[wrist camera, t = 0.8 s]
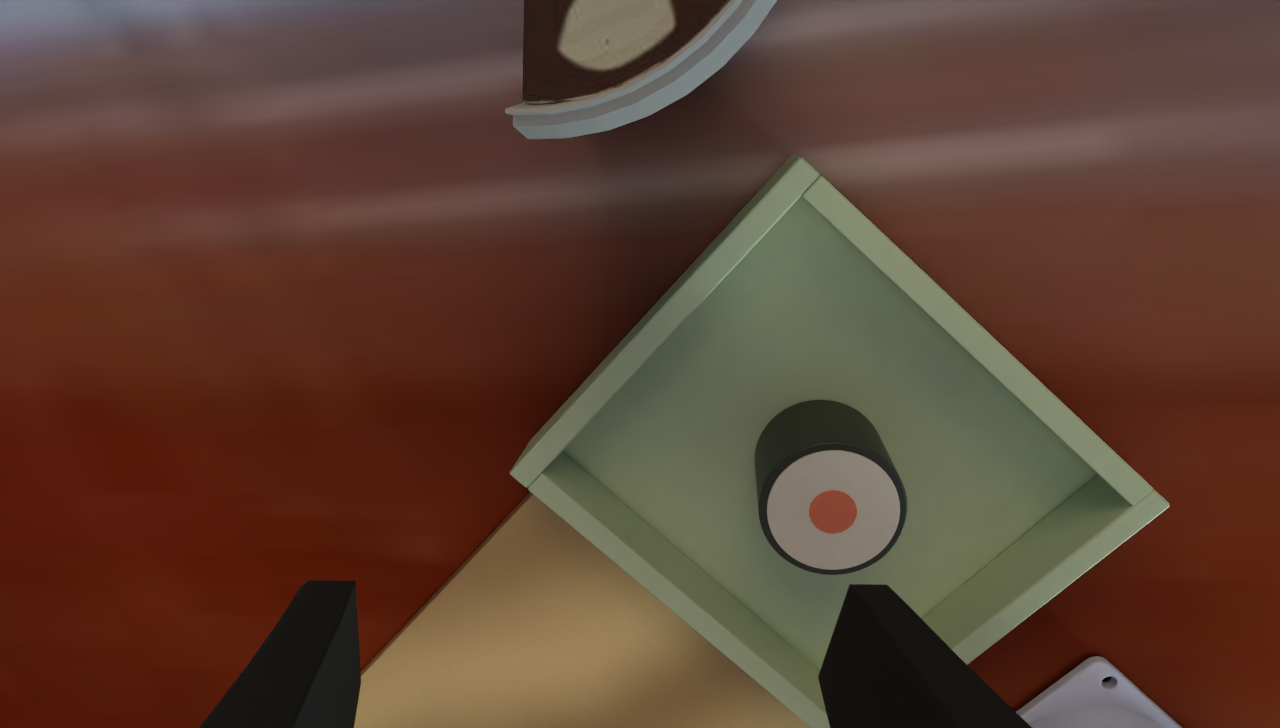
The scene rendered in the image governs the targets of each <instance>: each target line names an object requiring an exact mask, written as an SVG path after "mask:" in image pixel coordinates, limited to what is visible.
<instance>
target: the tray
mask: <svg viewBox="0 0 1280 728" xmlns="http://www.w3.org/2000/svg"><path fill="white" fill-rule="evenodd" d="M809 400H831V401H836V402H840V403H843V404H846V405H848V406H850V407H852V408H854V409H856V410H857V411H859V412H860V413H862V414H863V415H864V416H865V417H866V418H867V419H868V420H869V421H870V422H871V423H872V424H873V426H874V427H875V429H876V430H877V432H878V434H879V436H880V438H881V440H882V442H883V444H884V446H885V448H886V450H887V452H888V454H889V456H890V458H891V460H892V462H893V464H894V466H895V468H896V470H897V472H898V474H899V476H900V478H901V480H902V482H903V485H904V488H905V491H906V495H907V502H908V512H907V519H906V523H905V527H904V529H903V532H902V534H901V536H900V537H899V539H898V541H897V543H896V544H895V545H894V546H893V548H892V549H891V550H890V551H889V552H888V553H887V554H886V555H885V556H884V557H883V558H881V559H880V560H879V561H877V562H876V563H874V564H872V565H870V566H869V567H866V568H864V569H862V570H859V571H856V572H852V573H847V574H840V575H824V574H818V573H813V572H809V571H806V570H803V569H801V568H799V567H796V566H795V565H793V564H791V563H789V562H788V561H787V560H785V559H784V558H783V557H781V556H780V555H779V554H778V553H777V552H776V551H775V550H774V549H773V547H772V546H771V545H770V544H769V542H768V540H767V539H766V537H765V535H764V532H763V530H762V528H761V524H760V520H759V511H758V498H757V486H756V473H755V450H756V445H757V442H758V439H759V437H760V435H761V433H762V431H763V430H764V428H765V427H766V425H767V424H768V423H769V422H770V421H771V420H772V419H773V418H774V417H775V416H776V415H777V414H778V413H780V412H781V411H783V410H784V409H786V408H788V407H790V406H792V405H795V404H798V403H800V402H805V401H809ZM510 475H511V476H512V477H514V478H515V479H516V480H517V481H518V482H520V483H521V484H522V485H523V486H524V487H526V488H527V487H528V490H529V491H530V492H531V493H532V494H534V495H535V496H536V497H537V498H538V499H540V500H541V501H542V502H543V503H544V504H545V505H547V506H548V507H549V508H550V509H551V510H553V511H554V512H555V513H556V514H557V515H559V516H560V517H561V518H562V519H563V520H565V521H566V522H567V523H568V524H569V525H570V526H572V527H573V528H574V529H575V530H576V531H578V532H579V533H580V534H581V535H582V536H584V537H585V538H586V539H587V540H588V541H589V542H591V543H592V544H593V545H594V546H595V547H597V548H598V549H599V550H600V551H601V552H603V553H604V554H605V555H606V556H607V557H609V558H610V559H611V560H612V561H613V562H614V563H616V564H617V565H618V566H619V567H620V568H622V569H623V570H624V571H625V572H626V573H628V574H629V575H630V576H631V577H632V578H634V579H635V580H636V581H637V582H638V583H639V584H641V585H642V586H643V587H644V588H645V589H647V590H648V591H649V592H650V593H651V594H653V595H654V596H655V597H656V598H657V599H658V600H660V601H661V602H662V603H663V604H664V605H666V606H667V607H668V608H669V609H670V610H672V611H673V612H674V613H675V614H676V615H678V616H679V617H680V618H681V619H682V620H683V621H685V622H686V623H687V624H688V625H689V626H691V627H692V628H693V629H694V630H695V631H697V632H698V633H699V634H700V635H701V636H702V637H704V638H705V639H706V640H707V641H708V642H710V643H711V644H712V645H713V646H714V647H716V648H717V649H718V650H719V651H720V652H722V653H723V654H724V655H725V656H726V657H727V658H729V659H730V660H731V661H732V662H733V663H735V664H736V665H737V666H738V667H739V668H741V669H742V670H743V671H744V672H745V673H746V674H748V675H749V676H750V677H751V678H752V679H754V680H755V681H756V682H757V683H758V684H760V685H761V686H762V687H763V688H764V689H766V690H767V691H768V692H769V693H770V694H771V695H773V696H774V697H775V698H776V699H777V700H779V701H780V702H781V703H782V704H783V705H785V706H786V707H787V708H788V709H789V710H790V711H792V712H793V713H794V714H795V715H796V716H798V717H799V718H800V719H801V720H802V721H804V722H805V723H806V724H807V725H808V726H810V727H811V728H830V725H829V721H828V717H827V714H826V709H825V705H824V701H823V696H822V692H821V688H820V683H819V679H818V675H819V672H820V669H821V667H822V664H823V661H824V658H825V655H826V652H827V649H828V646H829V643H830V640H831V637H832V634H833V631H834V628H835V626H836V623H837V620H838V617H839V614H840V611H841V608H842V605H843V602H844V599H845V596H846V593H847V590H848V587H849V585H850V584H875V585H888V586H889V587H890V588H891V589H892V590H893V591H894V592H895V593H896V594H897V595H898V596H899V597H900V598H901V599H902V600H903V601H904V602H905V603H906V604H907V605H908V606H909V607H910V608H911V609H912V610H913V611H914V612H915V613H916V614H917V615H918V616H919V617H920V618H921V619H922V620H923V621H924V622H925V623H926V624H927V625H928V626H929V627H930V628H931V629H932V630H933V631H934V632H935V633H936V634H937V635H938V636H939V637H940V638H941V639H942V640H943V641H944V642H945V643H946V644H947V645H948V646H949V647H950V648H951V649H952V650H953V651H954V652H955V653H956V654H957V655H958V656H959V657H960V658H961V659H962V660H963V661H964V662H965V663H966V664H967V665H968V664H969V663H970V662H971V661H973V660H974V659H975V658H976V657H978V656H979V655H980V654H982V653H983V652H984V651H985V650H987V649H988V648H989V647H991V646H992V645H993V644H994V643H996V642H997V641H998V640H1000V639H1001V638H1002V637H1003V636H1005V635H1006V634H1007V633H1008V632H1010V631H1011V630H1012V629H1014V628H1015V627H1016V626H1017V625H1019V624H1020V623H1021V622H1023V621H1024V620H1025V619H1026V618H1028V617H1029V616H1030V615H1032V614H1033V613H1034V612H1035V611H1037V610H1038V609H1039V608H1040V607H1042V606H1043V605H1044V604H1046V603H1047V602H1048V601H1049V600H1051V599H1052V598H1053V597H1055V596H1056V595H1057V594H1058V593H1060V592H1061V591H1062V590H1063V589H1065V588H1066V587H1067V586H1069V585H1070V584H1071V583H1072V582H1074V581H1075V580H1076V579H1078V578H1079V577H1080V576H1081V575H1083V574H1084V573H1085V572H1087V571H1088V570H1089V569H1090V568H1092V567H1093V566H1094V565H1095V564H1097V563H1098V562H1099V561H1101V560H1102V559H1103V558H1104V557H1106V556H1107V555H1108V554H1110V553H1111V552H1112V551H1113V550H1115V549H1116V548H1117V547H1119V546H1120V545H1121V544H1122V543H1124V542H1125V541H1126V540H1127V539H1129V538H1130V537H1131V536H1133V535H1134V534H1135V533H1136V532H1138V531H1139V530H1140V529H1142V528H1143V527H1144V526H1145V525H1147V524H1148V523H1149V522H1150V521H1152V520H1153V519H1154V518H1156V517H1157V516H1158V515H1159V514H1161V513H1162V512H1163V511H1165V510H1166V509H1167V508H1168V507H1169V506H1170V505H1169V503H1168V502H1167V501H1166V500H1165V499H1164V498H1163V497H1162V496H1161V495H1160V494H1159V493H1158V492H1157V491H1156V490H1154V489H1153V488H1152V487H1151V486H1150V485H1149V484H1148V483H1147V482H1146V481H1145V480H1144V479H1143V478H1142V477H1141V476H1140V475H1139V474H1138V473H1137V472H1135V471H1134V470H1133V469H1132V468H1131V467H1130V466H1129V465H1128V464H1127V463H1126V462H1125V461H1124V460H1123V459H1122V458H1121V457H1120V456H1118V455H1117V454H1116V453H1115V452H1114V451H1113V450H1112V449H1111V448H1110V447H1109V446H1108V445H1107V444H1106V443H1105V442H1104V441H1103V440H1102V439H1100V438H1099V437H1098V436H1097V435H1096V434H1095V433H1094V432H1093V431H1092V430H1091V429H1090V428H1089V427H1088V426H1087V425H1086V424H1085V423H1084V422H1082V421H1081V420H1080V419H1079V418H1078V417H1077V416H1076V415H1075V414H1074V413H1073V412H1072V411H1071V410H1070V409H1069V408H1068V407H1067V406H1066V405H1064V404H1063V403H1062V402H1061V401H1060V400H1059V399H1058V398H1057V397H1056V396H1055V395H1054V394H1053V393H1052V392H1051V391H1050V390H1049V389H1047V388H1046V387H1045V386H1044V385H1043V384H1042V383H1041V382H1040V381H1039V380H1038V379H1037V378H1036V377H1035V376H1034V375H1033V374H1032V373H1031V372H1029V371H1028V370H1027V369H1026V368H1025V367H1024V366H1023V365H1022V364H1021V363H1020V362H1019V361H1018V360H1017V359H1016V358H1015V357H1014V356H1013V355H1011V354H1010V353H1009V352H1008V351H1007V350H1006V349H1005V348H1004V347H1003V346H1002V345H1001V344H1000V343H999V342H998V341H997V340H996V339H995V338H993V337H992V336H991V335H990V334H989V333H988V332H987V331H986V330H985V329H984V328H983V327H982V326H981V325H980V324H979V323H978V322H976V321H975V320H974V319H973V318H972V317H971V316H970V315H969V314H968V313H967V312H966V311H965V310H964V309H963V308H962V307H961V306H960V305H958V304H957V303H956V302H955V301H954V300H953V299H952V298H951V297H950V296H949V295H948V294H947V293H946V292H945V291H944V290H943V289H942V288H940V287H939V286H938V285H937V284H936V283H935V282H934V281H933V280H932V279H931V278H930V277H929V276H928V275H927V274H926V273H925V272H924V271H922V270H921V269H920V268H919V267H918V266H917V265H916V264H915V263H914V262H913V261H912V260H911V259H910V258H909V257H908V256H907V255H905V254H904V253H903V252H902V251H901V250H900V249H899V248H898V247H897V246H896V245H895V244H894V243H893V242H892V241H891V240H890V239H889V238H887V237H886V236H885V235H884V234H883V233H882V232H881V231H880V230H879V229H878V228H877V227H876V226H875V225H874V224H873V223H872V222H871V221H869V220H868V219H867V218H866V217H865V216H864V215H863V214H862V213H861V212H860V211H859V210H858V209H857V208H856V207H855V206H854V205H853V204H851V203H850V202H849V201H848V200H847V199H846V198H845V197H844V196H843V195H842V194H841V193H840V192H839V191H838V190H837V189H836V188H834V187H833V186H832V185H831V184H830V183H829V182H828V181H827V180H826V179H825V178H824V177H823V176H821V175H820V174H819V172H817V171H816V170H815V169H814V168H813V167H812V166H811V165H810V164H809V163H808V162H807V161H806V160H805V159H804V158H802V157H799V156H796V155H794V154H793V155H791V156H790V157H789V158H788V160H787V161H786V162H785V163H784V164H783V165H782V166H781V167H780V168H779V169H778V170H777V172H776V173H775V174H774V175H773V176H772V177H771V178H770V179H769V180H768V181H767V182H766V184H765V185H764V186H763V187H762V188H761V189H760V190H759V191H758V192H757V193H756V194H755V196H754V197H753V198H752V199H751V200H750V201H749V202H748V203H747V204H746V205H745V206H744V208H743V209H742V210H741V211H740V212H739V213H738V214H737V215H736V216H735V217H734V218H733V220H732V221H731V222H730V223H729V224H728V225H727V226H726V227H725V228H724V229H723V230H722V232H721V233H720V234H719V235H718V236H717V237H716V238H715V239H714V240H713V241H712V243H711V244H710V245H709V246H708V247H707V248H706V249H705V250H704V251H703V252H702V253H701V255H700V256H699V257H698V258H697V259H696V260H695V261H694V262H693V263H692V264H691V265H690V267H689V268H688V269H687V270H686V271H685V272H684V273H683V274H682V275H681V276H680V277H679V279H678V280H677V281H676V282H675V283H674V284H673V285H672V286H671V287H670V288H669V289H668V291H667V292H666V293H665V294H664V295H663V296H662V297H661V298H660V299H659V300H658V301H657V303H656V304H655V305H654V306H653V307H652V308H651V309H650V310H649V311H648V312H647V313H646V315H645V316H644V317H643V318H642V319H641V320H640V321H639V322H638V323H637V324H636V325H635V327H634V328H633V329H632V330H631V331H630V332H629V333H628V334H627V335H626V336H625V337H624V339H623V340H622V341H621V342H620V343H619V344H618V345H617V346H616V347H615V348H614V349H613V351H612V352H611V353H610V354H609V355H608V356H607V357H606V358H605V359H604V360H603V361H602V363H601V364H600V365H599V366H598V367H597V368H596V369H595V370H594V371H593V372H592V373H591V375H590V376H589V377H588V378H587V379H586V380H585V381H584V382H583V383H582V384H581V385H580V387H579V388H578V389H577V390H576V391H575V392H574V393H573V394H572V395H571V396H570V397H569V399H568V400H567V401H566V402H565V403H564V404H563V405H562V406H561V407H560V408H559V409H558V411H557V412H556V413H555V414H554V415H553V416H552V417H551V418H550V419H549V420H548V421H547V423H546V424H545V425H544V426H543V427H542V428H541V429H540V430H539V431H538V432H537V433H536V435H535V436H534V437H533V438H532V439H531V440H530V441H529V443H528V445H527V446H526V448H525V449H524V451H523V453H522V454H521V456H520V457H519V459H518V460H517V462H516V463H515V465H514V467H513V468H512V470H511V471H510Z"/></svg>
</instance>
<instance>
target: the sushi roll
mask: <svg viewBox="0 0 1280 728" xmlns="http://www.w3.org/2000/svg"><path fill="white" fill-rule="evenodd" d="M755 473H756V486H757V498H758V511H759V520H760V524H761V528H762V530H763V532H764V535H765V537H766V539H767V540H768V542H769V544H770V545H771V546H772V547H773V549H774V550H775V551H776V552H777V553H778V554H779V555H780V556H781V557H783V558H784V559H785V560H787V561H788V562H789V563H791V564H793V565H795V566H796V567H799V568H801V569H803V570H806V571H809V572H813V573H818V574H824V575H840V574H847V573H852V572H856V571H859V570H862V569H864V568H866V567H869V566H870V565H872V564H874V563H876V562H877V561H879V560H880V559H881V558H883V557H884V556H885V555H886V554H887V553H888V552H889V551H890V550H891V549H892V548H893V546H894V545H895V544H896V543H897V541H898V539H899V537H900V536H901V534H902V532H903V529H904V527H905V523H906V519H907V512H908V502H907V495H906V491H905V488H904V485H903V482H902V480H901V478H900V476H899V474H898V472H897V470H896V468H895V466H894V464H893V462H892V460H891V458H890V456H889V454H888V452H887V450H886V448H885V446H884V444H883V442H882V440H881V438H880V436H879V434H878V432H877V430H876V429H875V427H874V426H873V424H872V423H871V422H870V421H869V420H868V419H867V418H866V417H865V416H864V415H863V414H862V413H860V412H859V411H857V410H856V409H854V408H852V407H850V406H848V405H846V404H843V403H840V402H836V401H831V400H809V401H805V402H800V403H798V404H795V405H792V406H790V407H788V408H786V409H784V410H783V411H781V412H780V413H778V414H777V415H776V416H775V417H774V418H773V419H772V420H771V421H770V422H769V423H768V424H767V425H766V427H765V428H764V430H763V431H762V433H761V435H760V437H759V439H758V442H757V445H756V450H755Z"/></svg>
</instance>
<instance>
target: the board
mask: <svg viewBox="0 0 1280 728" xmlns="http://www.w3.org/2000/svg"><path fill="white" fill-rule="evenodd" d="M360 673H361V686H360V693H359V699H358V705H357V711H356V718H355V724H354V728H811V727H810V726H808V725H807V724H806V723H805V722H804V721H802V720H801V719H800V718H799V717H798V716H796V715H795V714H794V713H793V712H792V711H790V710H789V709H788V708H787V707H786V706H785V705H783V704H782V703H781V702H780V701H779V700H777V699H776V698H775V697H774V696H773V695H771V694H770V693H769V692H768V691H767V690H766V689H764V688H763V687H762V686H761V685H760V684H758V683H757V682H756V681H755V680H754V679H752V678H751V677H750V676H749V675H748V674H746V673H745V672H744V671H743V670H742V669H741V668H739V667H738V666H737V665H736V664H735V663H733V662H732V661H731V660H730V659H729V658H727V657H726V656H725V655H724V654H723V653H722V652H720V651H719V650H718V649H717V648H716V647H714V646H713V645H712V644H711V643H710V642H708V641H707V640H706V639H705V638H704V637H702V636H701V635H700V634H699V633H698V632H697V631H695V630H694V629H693V628H692V627H691V626H689V625H688V624H687V623H686V622H685V621H683V620H682V619H681V618H680V617H679V616H678V615H676V614H675V613H674V612H673V611H672V610H670V609H669V608H668V607H667V606H666V605H664V604H663V603H662V602H661V601H660V600H658V599H657V598H656V597H655V596H654V595H653V594H651V593H650V592H649V591H648V590H647V589H645V588H644V587H643V586H642V585H641V584H639V583H638V582H637V581H636V580H635V579H634V578H632V577H631V576H630V575H629V574H628V573H626V572H625V571H624V570H623V569H622V568H620V567H619V566H618V565H617V564H616V563H614V562H613V561H612V560H611V559H610V558H609V557H607V556H606V555H605V554H604V553H603V552H601V551H600V550H599V549H598V548H597V547H595V546H594V545H593V544H592V543H591V542H589V541H588V540H587V539H586V538H585V537H584V536H582V535H581V534H580V533H579V532H578V531H576V530H575V529H574V528H573V527H572V526H570V525H569V524H568V523H567V522H566V521H565V520H563V519H562V518H561V517H560V516H559V515H557V514H556V513H555V512H554V511H553V510H551V509H550V508H549V507H548V506H547V505H545V504H544V503H543V502H542V501H541V500H540V499H538V498H537V497H536V496H535V495H534V494H532V493H531V492H530V493H529V494H528V495H527V496H526V497H525V498H524V499H523V500H522V501H521V502H520V503H519V504H518V505H517V507H516V508H515V509H514V510H513V511H512V512H511V513H510V514H509V515H508V516H507V517H506V518H505V519H504V520H503V521H502V522H501V524H500V525H499V526H498V527H497V528H496V529H495V530H494V531H493V532H492V533H491V534H490V535H489V536H488V537H487V538H486V539H485V541H484V542H483V543H482V544H481V545H480V546H479V547H478V548H477V549H476V550H475V551H474V552H473V553H472V554H471V555H470V556H469V558H468V559H467V560H466V561H465V562H464V563H463V564H462V565H461V566H460V567H459V568H458V569H457V570H456V571H455V572H454V573H453V575H452V576H451V577H450V578H449V579H448V580H447V581H446V582H445V583H444V584H443V585H442V586H441V587H440V588H439V589H438V590H437V592H436V593H435V594H434V595H433V596H432V597H431V598H430V599H429V600H428V601H427V602H426V603H425V604H424V605H423V606H422V608H421V609H420V610H419V611H418V612H417V613H416V614H415V615H414V616H413V617H412V618H411V619H410V620H409V621H408V622H407V623H406V625H405V626H404V627H403V628H402V629H401V630H400V631H399V632H398V633H397V634H396V635H395V636H394V637H393V638H392V639H391V640H390V642H389V643H388V644H387V645H386V646H385V647H384V648H383V649H382V650H381V651H380V652H379V653H378V654H377V655H376V656H375V657H374V659H373V660H372V661H371V662H370V663H369V664H368V665H367V666H366V667H365V668H364V669H363V670H362V671H361V672H360Z"/></svg>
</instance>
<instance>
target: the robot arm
mask: <svg viewBox="0 0 1280 728" xmlns="http://www.w3.org/2000/svg"><path fill="white" fill-rule="evenodd" d="M1106 677H1112V678H1111V679H1110V680H1109V681H1106V682H1102V680H1103V679H1104V678H1106ZM818 679H819V683H820V688H821V692H822V696H823V701H824V705H825V709H826V714H827V717H828V721H829V725H830V728H1182V727H1181V726H1180V725H1179V724H1177V723H1176V722H1175V721H1174V720H1173V719H1172V718H1171V717H1170V716H1169V715H1167V714H1166V713H1165V712H1164V711H1163V710H1162V709H1161V708H1160V707H1159V706H1157V705H1156V704H1155V703H1154V702H1153V701H1152V700H1151V699H1150V698H1149V697H1148V696H1146V695H1145V694H1144V693H1143V692H1142V691H1141V690H1140V689H1139V688H1138V687H1136V686H1135V685H1134V684H1133V683H1132V682H1131V681H1130V680H1129V679H1128V678H1126V677H1125V676H1124V675H1123V674H1122V673H1121V672H1120V671H1119V670H1118V669H1116V668H1115V667H1114V666H1113V665H1112V664H1111V663H1110V662H1109V661H1108V660H1106V659H1105V658H1103V657H1098V656H1095V657H1090V658H1088V659H1086V660H1085V661H1084V662H1082V663H1081V664H1080V665H1078V666H1077V667H1076V668H1074V669H1073V670H1072V671H1070V672H1069V673H1068V674H1066V675H1065V676H1063V677H1062V678H1061V679H1059V680H1058V681H1057V682H1055V683H1054V684H1053V685H1051V686H1050V687H1049V688H1047V689H1046V690H1045V691H1043V692H1042V693H1041V694H1039V695H1038V696H1037V697H1035V698H1034V699H1033V700H1031V701H1030V702H1029V703H1027V704H1026V705H1025V706H1023V707H1022V708H1021V709H1019V710H1018V711H1016V712H1015V711H1014V710H1013V709H1012V708H1011V707H1010V706H1009V705H1008V704H1007V703H1005V702H1004V701H1003V700H1002V699H1001V698H1000V697H999V696H998V695H997V694H996V693H995V692H994V691H993V690H992V689H991V688H990V687H989V686H988V685H987V684H986V683H985V682H984V681H983V680H982V679H981V678H980V677H979V676H978V675H977V674H976V673H975V672H974V671H973V670H972V669H971V668H970V667H969V666H968V665H967V664H966V663H965V662H964V661H963V660H962V659H961V658H960V657H959V656H958V655H957V654H956V653H955V652H954V651H953V650H952V649H951V648H950V647H949V646H948V645H947V644H946V643H945V642H944V641H943V640H942V639H941V638H940V637H939V636H938V635H937V634H936V633H935V632H934V631H933V630H932V629H931V628H930V627H929V626H928V625H927V624H926V623H925V622H924V621H923V620H922V619H921V618H920V617H919V616H918V615H917V614H916V613H915V612H914V611H913V610H912V609H911V608H910V607H909V606H908V605H907V604H906V603H905V602H904V601H903V600H902V599H901V598H900V597H899V596H898V595H897V594H896V593H895V592H894V591H893V590H892V589H891V588H890V587H889V586H888V585H875V584H850V585H849V587H848V590H847V593H846V596H845V599H844V602H843V605H842V608H841V611H840V614H839V617H838V620H837V623H836V626H835V628H834V631H833V634H832V637H831V640H830V643H829V646H828V649H827V652H826V655H825V658H824V661H823V664H822V667H821V669H820V672H819V675H818ZM360 686H361V673H360V655H359V636H358V618H357V600H356V581H313V580H309V581H308V582H306V583H305V584H304V585H302V586H301V587H300V589H299V590H298V592H297V593H296V595H295V597H294V598H293V600H292V602H291V603H290V605H289V606H288V608H287V609H286V611H285V612H284V614H283V615H282V617H281V618H280V620H279V621H278V623H277V624H276V626H275V627H274V629H273V630H272V632H271V633H270V635H269V636H268V637H267V639H266V640H265V642H264V643H263V644H262V646H261V647H260V649H259V650H258V651H257V653H256V654H255V656H254V657H253V658H252V660H251V661H250V663H249V664H248V665H247V667H246V668H245V669H244V671H243V672H242V673H241V674H240V676H239V677H238V678H237V680H236V681H235V682H234V684H233V685H232V686H231V688H230V689H229V690H228V691H227V693H226V694H225V695H224V697H223V698H222V699H221V701H220V702H219V703H218V704H217V706H216V707H215V708H214V710H213V711H212V712H211V714H210V715H209V716H208V717H207V718H206V720H205V721H204V722H203V723H202V725H201V726H200V727H199V728H354V724H355V718H356V711H357V705H358V699H359V693H360Z"/></svg>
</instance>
